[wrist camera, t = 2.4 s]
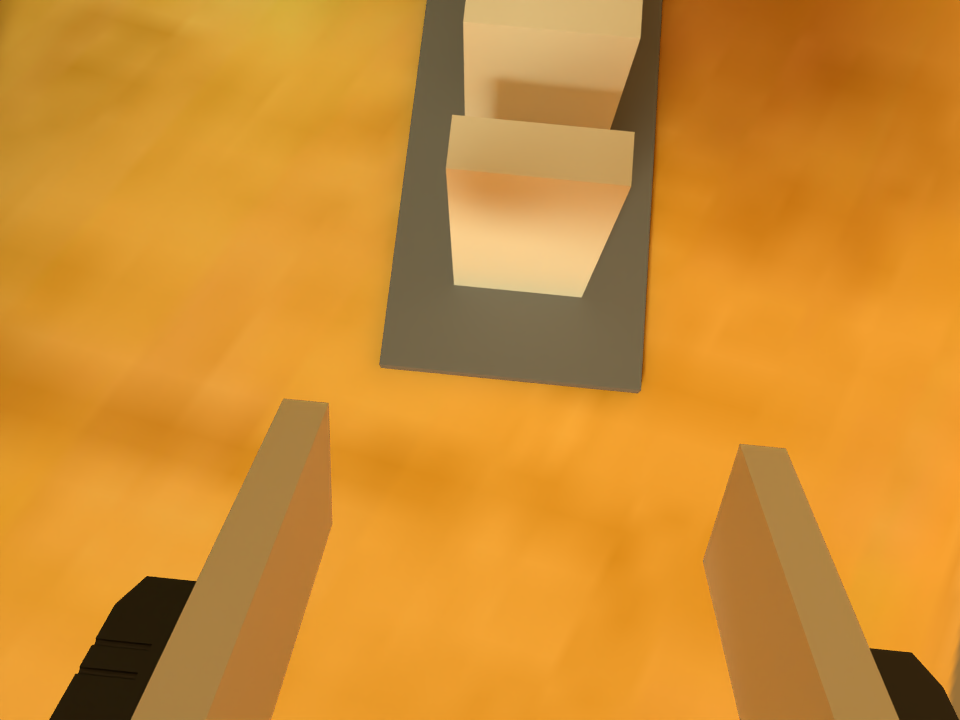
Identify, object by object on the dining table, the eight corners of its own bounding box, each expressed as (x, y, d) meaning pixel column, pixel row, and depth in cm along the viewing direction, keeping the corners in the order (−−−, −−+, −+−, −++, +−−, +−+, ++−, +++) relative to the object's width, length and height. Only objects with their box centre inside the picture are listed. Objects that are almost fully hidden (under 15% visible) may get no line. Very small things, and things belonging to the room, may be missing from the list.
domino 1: (589, 190, 32) (640, 38, 22) (466, 178, 32) (463, 21, 22) (592, 154, 33) (643, -12, 23) (470, 142, 33) (468, -28, 23)
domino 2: (581, 297, 31) (631, 186, 21) (454, 285, 31) (445, 168, 22) (584, 258, 32) (634, 132, 22) (458, 246, 32) (452, 114, 22)
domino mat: (637, 393, 31) (640, 390, 30) (381, 367, 31) (379, 364, 31) (664, -88, 36) (667, -98, 35) (442, -108, 36) (442, -119, 35)
